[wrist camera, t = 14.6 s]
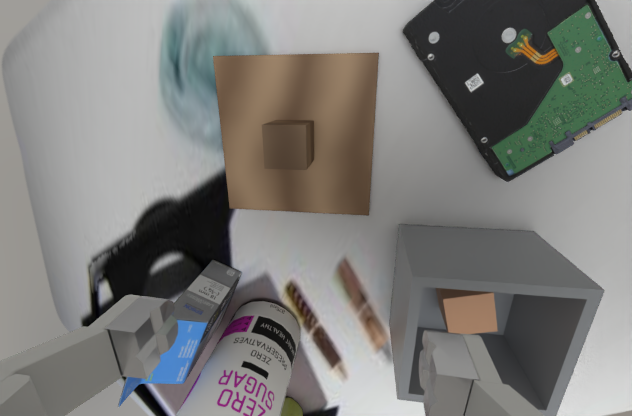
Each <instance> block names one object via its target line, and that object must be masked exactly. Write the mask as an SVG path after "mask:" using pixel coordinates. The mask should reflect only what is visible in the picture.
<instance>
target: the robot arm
mask: <svg viewBox="0 0 632 416" xmlns="http://www.w3.org/2000/svg"><path fill="white" fill-rule="evenodd" d="M174 311H175V307H174V303H173V302H172V301H170V300H167V299H160V298H153V297H146V296H137V295H127V296H124V297H123V298H122V299H121V300H120V301H118V302H117V303H116V304H115V305H114V306H113V307H111V308H110V309H109V310H108V311H107V312H105V313H104V314H103V315H102V316H101V317H99V318H98V319H97V320H96V321H95V322H93V323H92V324H91V325H90V326H89V327H81V328H79V329H77V330H74V331H72V332H69V333H67V334H64V335H62V336H60V337H57V338H55V339H52V340H50V341H48V342H45V343H43V344H41V345H38V346H35V347H33V348H30V349H28V350H26V351H23V352H21V353H18V354H16V355H14V356H11V357H9V358H6V359H4V360H2V361H0V416H65V415H67V414H68V413H70V412H71V411H72V410H74V409H75V408H77V407H78V406H80V405H81V404H83V403H84V402H86V401H87V400H89V399H90V398H92V397H93V396H95V395H96V394H98V393H99V392H101V391H102V390H104V389H105V388H106V387H108V386H110V385H111V384H113V383H114V382H116V381H117V380H118V379H120V378H121V376H126V377H134V378H142V379H147V378H148V377H149V376H150V374H151V373H152V372H153V370H154V369H155V368H156V367H157V365H158V364H159V363H160V355H162V354H163V353H165V352H167V351H169V350H170V348H171V347H172V346H173V344H174V343H175V340H176V337H177V335H178V322H177V320H176V319H175V318H174V317H173V315H172V314H173V313H174ZM422 342H423V347H424V349H423V350H422V351H421V352H420V357H419V379H420V385H421V387H422V388H423V390H424V391H425V393H424V399H423V403H424V409H425V414H426V416H544V415H543V414H542V413H541V412H540V411H539V410H537V409H536V408H535V407H534V406H533V405H532V404H530V403H529V402H528V401H527V400H526V399H525V398H523V397H522V396H521V395H520V394H519V393H518V392H516V391H515V390H514V389H513V388H512V387H511V386H509V385H506V384H503V383H502V381H501V379H500V377H499V375H498V373H497V370H496V368H495V366H494V364H493V362H492V359H491V357H490V355H489V353H488V351H487V348H486V346H485V344H484V342H483V340H482V338H481V337H480V336H479V335H472V334H462V333H461V334H458V333H449V332H440V331H431V330H425V331H424V333H423V338H422Z"/></svg>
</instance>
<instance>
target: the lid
mask: <svg viewBox="0 0 632 416" xmlns="http://www.w3.org/2000/svg"><path fill="white" fill-rule="evenodd" d="M378 56H379V53H347V54H298V55H249V56H213V60H214V69H215V78H216V87H217V97H218V106H219V115H220V124H221V133H222V142H223V151H224V160H225V169H226V178H227V187H228V196H229V205H230V208H234V209H254V210H273V211H293V212H312V213H332V214H351V215H369V202H370V186H371V170H372V154H373V137H374V121H375V105H376V88H377V72H378Z"/></svg>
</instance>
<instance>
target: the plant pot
mask: <svg viewBox="0 0 632 416" xmlns="http://www.w3.org/2000/svg"><path fill="white" fill-rule="evenodd" d="M281 416H303V412H302V409H301V407H300V406H299V404H298V403H297V402H296V401H294V400H293V399H291V398H285V400H284V404H283V408H282V412H281Z"/></svg>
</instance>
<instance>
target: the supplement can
mask: <svg viewBox="0 0 632 416" xmlns="http://www.w3.org/2000/svg"><path fill="white" fill-rule="evenodd" d="M299 342H300V328H299V326H298V324H297V321H296V319H295V318H294V317H293V316H292V315H291V314H290V313H289V312H288V311H287V310H286V309H284V308H282V307H280V306H279V305H277V304H274V303H270V302H265V301H258V302H250V303H248V304H246V305H243V306H241V307H240V308H239V310H238V311H237V312H236V313H235V314H234V316H233V317H232V319H231V321H230V323H229V324H228V326H227V328H226V330H225V331H224V333H223V335H222V337H221V338H220V340H219V342H218V343H217V345H216V347H215V349H214V350H213V352H212V354H211V356H210V357H209V359H208V361H207V362H206V364H205V366H204V368H203V369H202V371H201V373H200V375H199V376H198V378H197V380H196V381H195V383H194V385H193V387H192V388H191V390H190V392H189V394H188V395H187V397H186V399H185V400H184V402H183V404H182V406H181V407H180V409H179V411H178V413H177V414H176V416H281V412H282V408H283V404H284V400H285V396H286V392H287V389H288V385H289V381H290V377H291V373H292V369H293V365H294V361H295V357H296V353H297V350H298V346H299Z"/></svg>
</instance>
